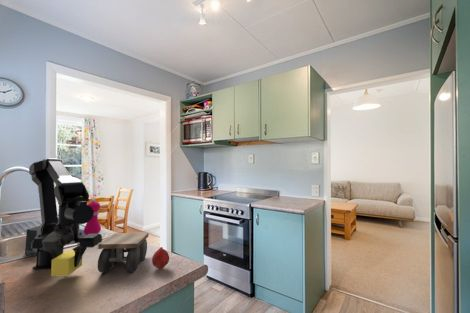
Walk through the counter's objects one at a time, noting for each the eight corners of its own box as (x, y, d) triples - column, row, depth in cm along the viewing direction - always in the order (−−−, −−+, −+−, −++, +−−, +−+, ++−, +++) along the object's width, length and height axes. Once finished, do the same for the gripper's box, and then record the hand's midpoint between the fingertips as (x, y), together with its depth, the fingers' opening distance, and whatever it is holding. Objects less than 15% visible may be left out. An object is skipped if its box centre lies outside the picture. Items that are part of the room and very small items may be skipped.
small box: (36, 256, 87) (37, 230, 87) (23, 255, 88) (25, 229, 89) (62, 246, 97) (63, 223, 98) (50, 245, 99) (51, 222, 99)
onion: (148, 269, 77) (149, 246, 78) (163, 264, 82) (164, 242, 82) (156, 275, 73) (157, 251, 74) (172, 269, 78) (172, 246, 78)
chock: (51, 276, 67) (51, 259, 68) (66, 265, 74) (67, 250, 75) (68, 275, 68) (68, 259, 68) (82, 265, 75) (82, 250, 75)
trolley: (94, 277, 72) (95, 246, 72) (116, 256, 88) (117, 231, 88) (134, 275, 73) (135, 245, 73) (149, 255, 89) (149, 231, 89)
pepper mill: (88, 236, 111) (90, 197, 112) (103, 236, 112) (104, 197, 112) (79, 241, 104) (81, 199, 105) (95, 241, 105) (97, 199, 105)
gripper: (16, 226, 63) (13, 281, 62) (83, 225, 64) (82, 279, 64) (46, 217, 74) (44, 263, 73) (103, 216, 76) (102, 262, 75)
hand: (67, 267), depth 71 cm, fingers closed on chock, 5 cm apart
